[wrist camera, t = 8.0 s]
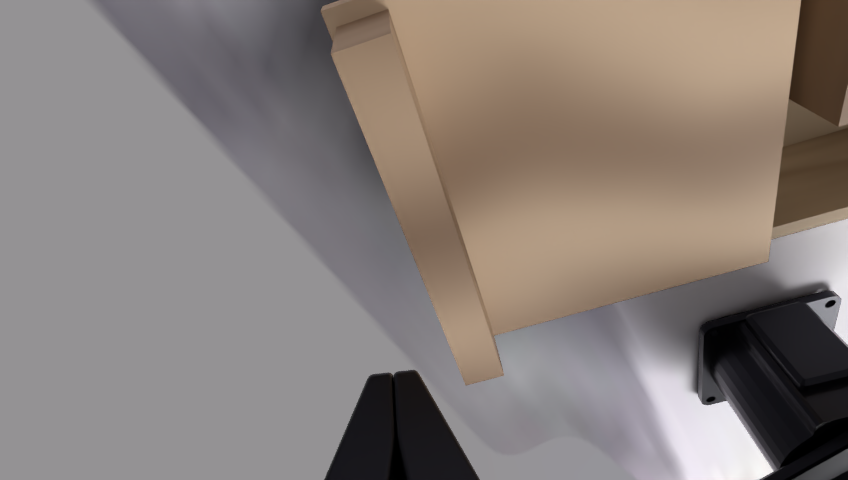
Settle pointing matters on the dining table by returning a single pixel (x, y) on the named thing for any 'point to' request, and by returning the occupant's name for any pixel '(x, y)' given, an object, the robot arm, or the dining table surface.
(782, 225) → the wooden box
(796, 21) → the lid
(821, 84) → the block
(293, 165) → the dining table surface
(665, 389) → the dining table surface
